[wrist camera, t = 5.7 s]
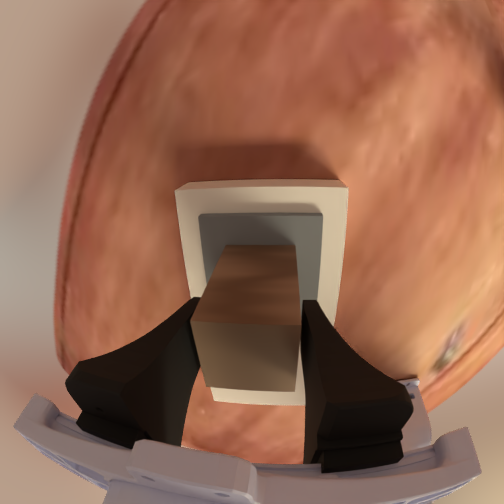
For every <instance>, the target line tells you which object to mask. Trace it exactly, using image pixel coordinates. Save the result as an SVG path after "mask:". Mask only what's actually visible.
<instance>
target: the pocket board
mask: <svg viewBox="0 0 504 504" xmlns="http://www.w3.org/2000/svg"><path fill="white" fill-rule="evenodd" d="M348 191H349V188H348V187H347V186H346V185H345V184H344V183H343V182H342V181H340V180H322V179H250V180H221V181H202V182H188V183H186V184H185V185H183V186H181V187H180V188H178V189H176V190H175V198H176V206H177V214H178V221H179V228H180V235H181V242H182V249H183V255H184V261H185V267H186V273H187V279H188V285H189V290H190V296H191V298H193V297H201V296H202V294H203V292H204V290H205V288H206V286H207V283H206V276H205V269H204V261H203V254H202V246H201V237H200V229H199V220H198V216H199V215H200V214H207V213H322V214H323V231H322V248H321V263H320V276H319V287H318V298H317V301H318V303H319V305H320V307H321V309H322V310H323V312H324V313H325V315H326V317H327V318H328V320H329V321H330V323H331V324H332V325H333V327H334V322H335V316H336V310H337V303H338V296H339V289H340V281H341V273H342V265H343V256H344V246H345V235H346V223H347V209H348ZM211 391H212V395H213V398H214V401H221V402H231V403H243V404H259V405H305V386H304V378H303V370H302V361H301V353H300V347H299V357H298V367H297V377H296V386H295V392H273V391H250V390H236V389H224V388H214V387H211Z"/></svg>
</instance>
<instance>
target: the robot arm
mask: <svg viewBox="0 0 504 504" xmlns="http://www.w3.org/2000/svg"><path fill="white" fill-rule="evenodd" d="M200 298H201V297H193V298H191V299H190V300H189V301H188V302H187V303H185V304H184V305H183V306H182V307H181V308H180V309H178V310H177V311H176V312H175V313H174V314H172V315H171V316H170V317H169V318H168V319H166V320H165V321H164V322H162V323H161V324H160V325H158V326H157V327H156V328H154V329H153V330H152V331H150V332H149V333H147V334H146V335H144V336H142V337H141V338H139V339H137V340H135V341H134V342H132V343H130V344H128V345H126V346H123V347H121V348H119V349H117V350H115V351H112V352H110V353H107V354H104V355H101V356H98V357H95V358H91V359H87V360H84V361H79V362H78V364H77V365H76V366H75V368H74V369H73V371H72V372H71V374H70V375H69V376H68V378H67V379H66V382H65V385H66V388H67V390H68V392H69V394H70V395H71V396H72V398H73V399H74V401H75V402H76V403H77V404H78V406H79V407H80V408H81V410H82V413H81V414H80V416H79V418H78V420H77V419H74V418H72V417H70V416H68V415H66V414H64V413H62V412H60V411H59V409H58V408H57V407H56V405H55V404H54V403H53V402H51V401H50V400H48V399H46V398H45V397H42V396H41V395H39V394H37V393H35V394H34V396H33V397H32V398H31V400H30V401H29V403H28V404H27V406H26V407H25V409H24V410H23V412H22V413H21V415H20V416H19V418H18V420H17V421H16V423H15V424H14V428H15V429H16V430H17V431H18V432H19V433H20V434H21V435H22V436H23V437H24V438H25V439H26V440H27V441H28V442H29V443H30V444H32V445H33V446H34V447H35V448H36V449H37V450H39V451H40V452H41V453H42V454H43V455H45V456H47V457H48V458H50V459H51V460H53V461H54V462H56V463H58V464H59V465H61V466H63V467H64V468H66V469H68V470H69V471H71V472H73V473H74V474H76V475H78V476H80V477H82V478H83V479H85V480H87V481H89V482H91V483H93V484H95V485H97V486H99V487H101V488H103V489H105V490H107V494H106V496H105V499H104V502H103V504H434V500H437V499H439V498H442V497H444V496H447V495H449V494H451V493H453V492H454V491H456V490H458V489H459V488H461V487H462V486H464V485H465V484H467V483H469V482H470V481H471V480H473V479H475V478H476V477H477V476H479V475H480V474H481V468H480V464H479V461H478V457H477V454H476V451H475V448H474V445H473V441H472V439H471V436H470V433H469V430H468V427H463V428H461V429H458V430H455V431H452V432H449V433H447V434H444V435H442V436H441V437H440V438H438V439H437V440H436V442H435V443H434V444H433V445H430V444H431V425H430V421H429V418H428V415H427V412H426V409H425V406H424V403H423V400H422V397H421V394H420V391H419V388H418V384H419V382H420V381H419V378H414V379H408V380H401V381H396V380H394V379H392V378H390V377H388V376H386V375H385V374H383V373H382V372H380V371H379V370H377V369H376V368H374V367H373V366H372V365H370V364H369V363H368V362H366V361H365V360H364V359H363V358H361V357H360V356H359V355H358V354H357V353H356V352H355V351H354V350H353V349H352V348H351V347H350V346H349V345H348V344H347V343H346V342H345V341H344V339H343V338H342V337H341V336H340V335H339V333H338V332H337V331H336V329H335V328H334V327H333V325H332V324H331V323H330V321H329V320H328V318H327V317H326V315H325V313H324V312H323V310H322V309H321V307H320V305H319V303H318V301H317V300H303V301H302V316H301V335H300V353H301V361H302V370H303V378H304V386H305V442H304V460H303V464H260V463H250V462H249V461H247V460H244V459H242V458H239V457H236V456H231V455H226V454H220V453H213V452H206V451H200V450H194V449H189V448H184V447H181V441H182V435H183V429H184V423H185V418H186V413H187V408H188V404H189V400H190V395H191V391H192V388H193V385H194V382H195V379H196V376H197V374H198V371H199V368H200V366H201V365H200V361H199V357H198V352H197V348H196V344H195V340H194V336H193V331H192V327H191V322H190V320H191V318H192V316H193V314H194V311H195V309H196V307H197V305H198V303H199V301H200Z"/></svg>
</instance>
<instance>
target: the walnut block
mask: <svg viewBox="0 0 504 504" xmlns="http://www.w3.org/2000/svg"><path fill="white" fill-rule="evenodd" d="M190 322H191V327H192V331H193V336H194V340H195V344H196V348H197V352H198V357H199V361H200V365H201V368H202V372H203V376H204V380H205V384H206V387H214V388H224V389H236V390H250V391H273V392H295V386H296V377H297V367H298V357H299V347H300V335H301V311H300V296H299V282H298V269H297V257H296V246H295V245H226V246H225V248H224V250H223V252H222V254H221V256H220V258H219V260H218V262H217V264H216V267H215V269H214V271H213V273H212V275H211V277H210V279H209V281H208V283H207V286H206V288H205V290H204V292H203V294H202V296H201V298H200V301H199V303H198V305H197V307H196V309H195V311H194V314H193V316H192V318H191V320H190Z"/></svg>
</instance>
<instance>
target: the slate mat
mask: <svg viewBox="0 0 504 504" xmlns="http://www.w3.org/2000/svg"><path fill="white" fill-rule="evenodd" d="M198 220H199V229H200V237H201V246H202V254H203V261H204V269H205V276H206V283H208V281H209V279H210V277H211V275H212V273H213V271H214V269H215V267H216V264H217V262H218V260H219V258H220V256H221V254H222V252H223V250H224V248H225V246H226V245H295V246H296V257H297V269H298V282H299V296H300V311H301V316H302V301H303V300H317V298H318V287H319V276H320V263H321V248H322V231H323V214H322V213H207V214H200V215H199V216H198Z"/></svg>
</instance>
